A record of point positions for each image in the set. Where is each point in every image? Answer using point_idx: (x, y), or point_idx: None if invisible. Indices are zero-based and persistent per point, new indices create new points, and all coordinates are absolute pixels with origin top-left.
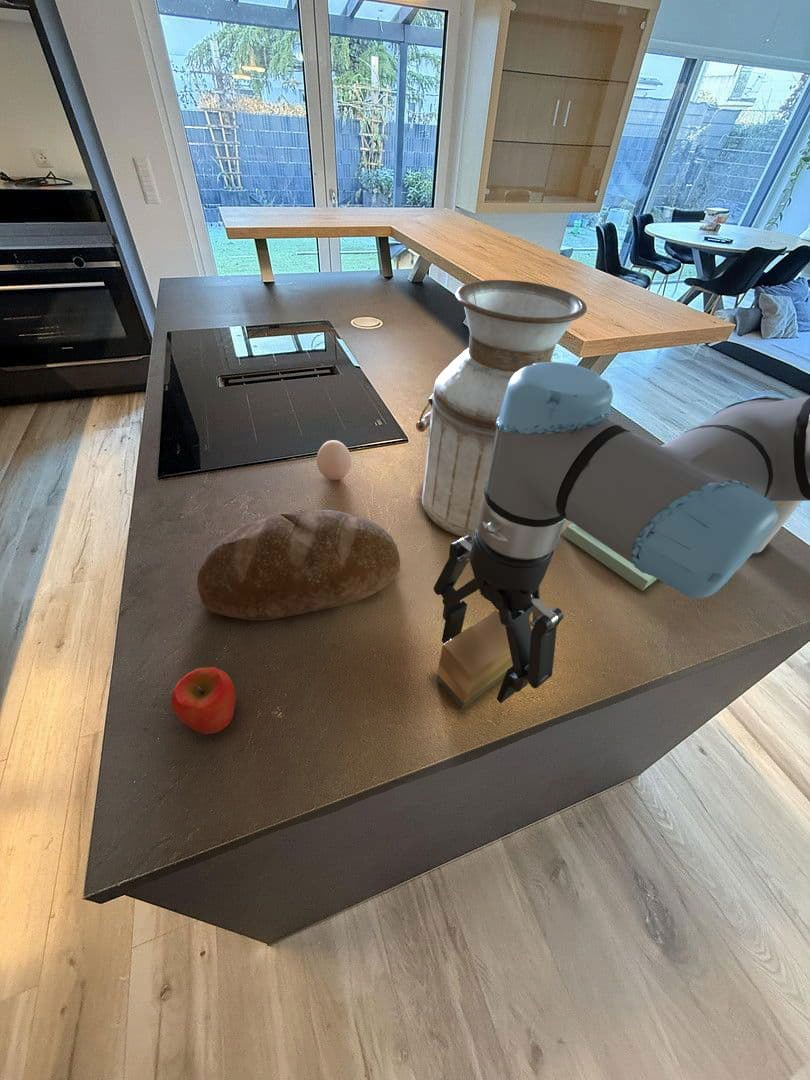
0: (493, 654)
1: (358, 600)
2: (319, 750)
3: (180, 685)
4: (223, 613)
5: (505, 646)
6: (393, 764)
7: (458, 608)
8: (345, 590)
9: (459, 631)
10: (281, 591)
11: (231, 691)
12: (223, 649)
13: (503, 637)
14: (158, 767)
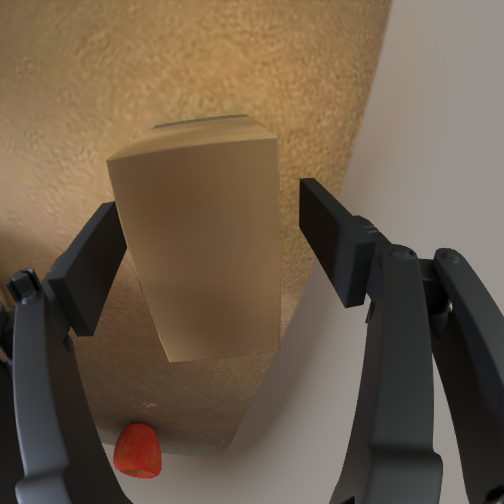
0: (267, 283)
1: (7, 304)
2: (205, 395)
3: (130, 475)
4: None
5: (267, 233)
6: (263, 355)
7: (75, 310)
8: (4, 356)
9: (110, 216)
10: None
11: (141, 460)
12: None
13: (233, 216)
14: (167, 444)
